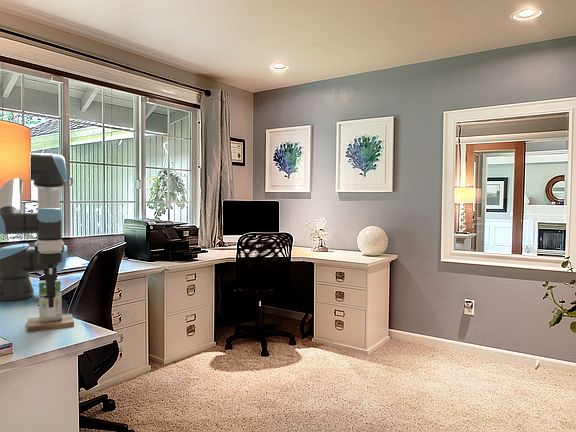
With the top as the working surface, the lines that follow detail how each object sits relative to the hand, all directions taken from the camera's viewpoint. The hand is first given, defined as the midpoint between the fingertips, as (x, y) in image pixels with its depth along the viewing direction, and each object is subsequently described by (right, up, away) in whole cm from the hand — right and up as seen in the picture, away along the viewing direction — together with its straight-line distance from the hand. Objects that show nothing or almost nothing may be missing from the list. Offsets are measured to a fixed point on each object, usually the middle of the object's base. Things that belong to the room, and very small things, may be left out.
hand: (50, 311), depth 153 cm
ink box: (0, -3, 0) cm, 3 cm away
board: (0, -5, 0) cm, 4 cm away
